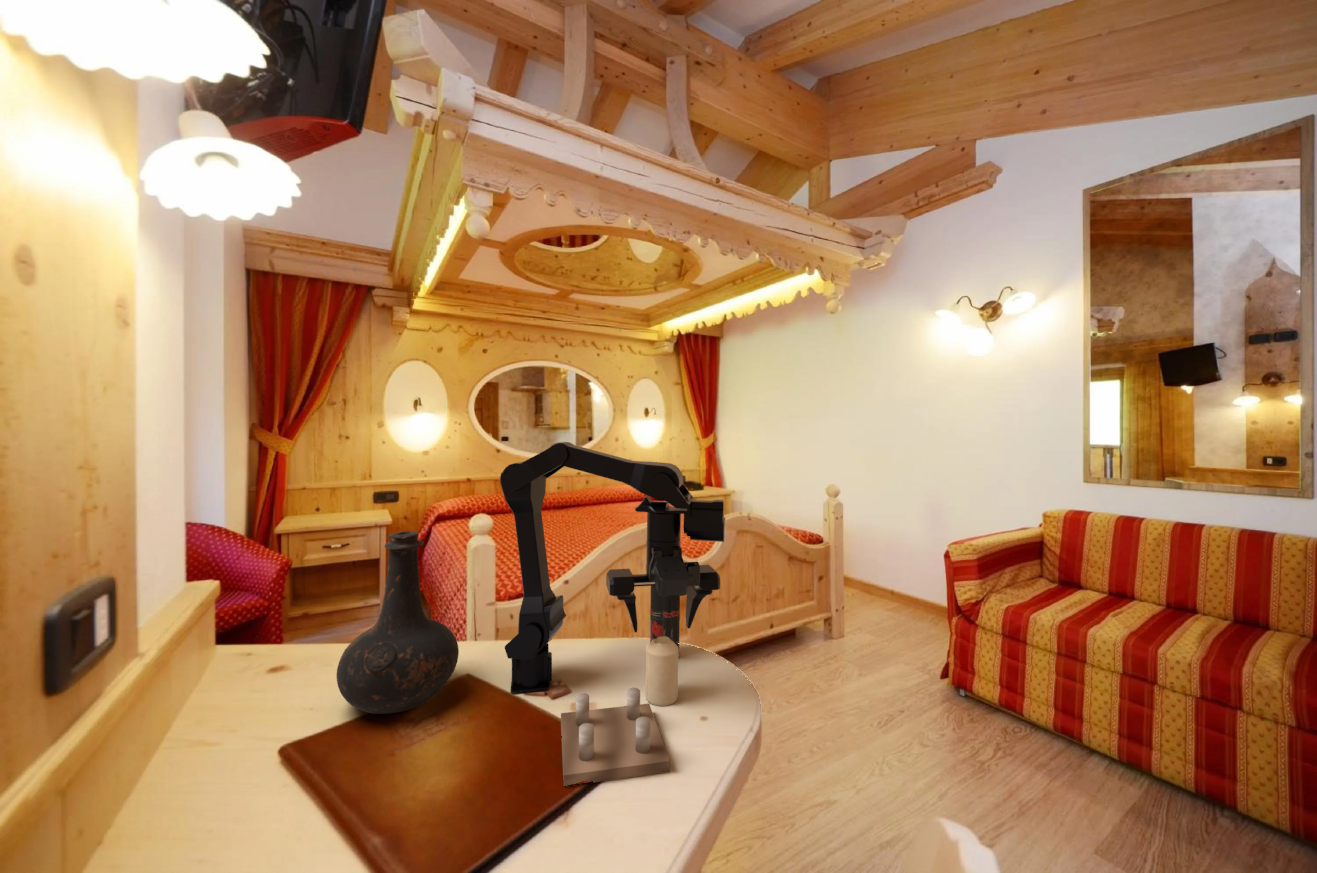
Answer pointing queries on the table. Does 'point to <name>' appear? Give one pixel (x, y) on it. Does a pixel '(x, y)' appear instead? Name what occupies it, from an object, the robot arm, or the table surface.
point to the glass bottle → (398, 643)
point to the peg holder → (611, 742)
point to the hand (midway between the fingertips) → (662, 629)
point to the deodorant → (664, 616)
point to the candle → (662, 672)
